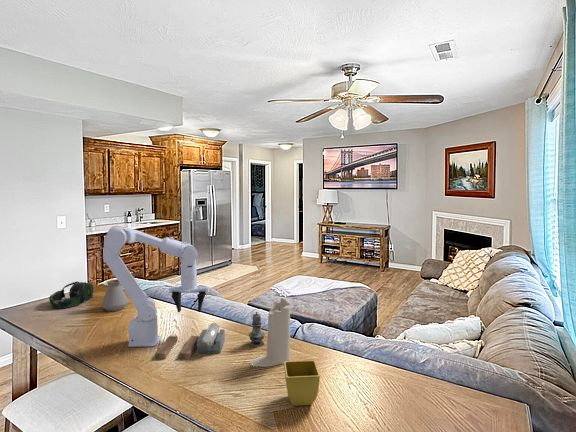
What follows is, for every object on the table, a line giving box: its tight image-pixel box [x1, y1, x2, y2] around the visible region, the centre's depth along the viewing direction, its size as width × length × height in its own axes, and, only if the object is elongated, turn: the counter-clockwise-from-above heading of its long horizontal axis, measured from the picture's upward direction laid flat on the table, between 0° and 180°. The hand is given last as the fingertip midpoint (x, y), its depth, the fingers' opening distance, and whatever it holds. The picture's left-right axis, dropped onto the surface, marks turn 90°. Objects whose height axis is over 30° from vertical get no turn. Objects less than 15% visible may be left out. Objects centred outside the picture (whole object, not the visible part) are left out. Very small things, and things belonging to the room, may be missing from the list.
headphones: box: [48, 281, 94, 310], centre depth 176 cm, size 13×13×20 cm
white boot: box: [247, 297, 291, 368], centre depth 118 cm, size 7×14×20 cm, turn 113°
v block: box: [196, 328, 226, 354], centre depth 129 cm, size 8×10×4 cm
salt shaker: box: [248, 311, 266, 348], centre depth 131 cm, size 6×6×12 cm
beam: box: [155, 335, 200, 360], centre depth 127 cm, size 11×14×2 cm
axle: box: [202, 322, 220, 348], centre depth 128 cm, size 12×4×4 cm, turn 1°
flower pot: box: [283, 359, 321, 407], centre depth 97 cm, size 9×9×9 cm
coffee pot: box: [100, 270, 144, 312], centre depth 173 cm, size 21×12×15 cm, turn 152°
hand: (189, 311), depth 138 cm, fingers open, 7 cm apart
